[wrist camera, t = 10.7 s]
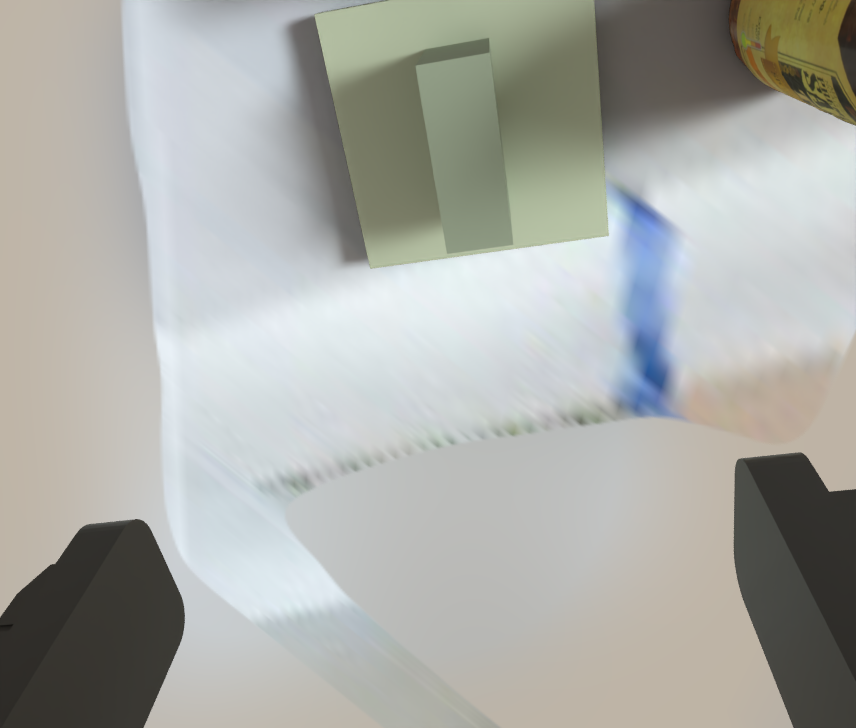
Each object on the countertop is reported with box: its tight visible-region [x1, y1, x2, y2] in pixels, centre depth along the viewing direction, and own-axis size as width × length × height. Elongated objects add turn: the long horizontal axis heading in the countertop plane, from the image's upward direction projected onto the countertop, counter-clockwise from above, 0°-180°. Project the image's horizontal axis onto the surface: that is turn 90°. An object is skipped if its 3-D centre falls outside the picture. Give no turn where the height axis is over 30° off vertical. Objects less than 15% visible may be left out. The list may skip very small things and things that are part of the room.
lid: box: [314, 0, 609, 269], centre depth 31 cm, size 11×11×7 cm
